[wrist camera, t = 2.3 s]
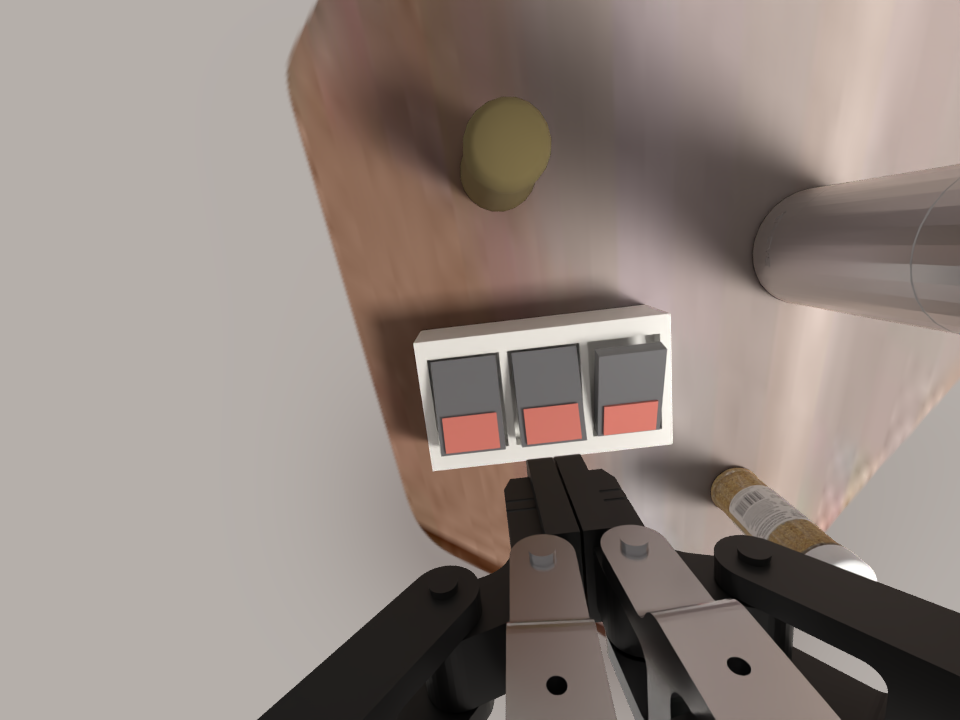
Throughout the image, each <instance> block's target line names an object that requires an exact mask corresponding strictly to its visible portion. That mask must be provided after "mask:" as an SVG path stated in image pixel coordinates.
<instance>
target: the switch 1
mask: <svg viewBox="0 0 960 720" xmlns="http://www.w3.org/2000/svg"><path fill="white" fill-rule="evenodd" d="M431 371H432V380H433V389H434V397H435V406H436V415H437V423H438V432H439V441H440V449H441V457H442V456H451V455H460V454H469V453H478V452H487V451H496V450H505V449H506V445H505V437H504V428H503V419H502V410H501V402H500V393H499V384H498V376H497V367H496V358H495V355H490V356H482V357H473V358H464V359H456V360H447V361H438V362H431Z"/></svg>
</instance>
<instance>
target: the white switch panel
mask: <svg viewBox="0 0 960 720" xmlns="http://www.w3.org/2000/svg"><path fill="white" fill-rule="evenodd" d="M653 342H662V344H663V345H664V346H665V347H666V348H667V358H666V369H665V380H664V391H663V402H662V412H661V423H660V430H652V431H643V432H634V433H625V434H616V435H607V436H597V433H596V431H595V429H594V364H595V349H601V348H610V347H618V346H627V345H636V344H644V343H653ZM413 345H414V351H415V358H416V364H417V371H418V378H419V384H420V391H421V397H422V404H423V410H424V417H425V423H426V430H427V436H428V443H429V449H430V456H431V462H432V469H433V471H438V470H447V469H456V468H465V467H474V466H483V465H492V464H501V463H510V462H519V461H526V460H528V459H537V458H546V457H552V458H554V456H563V455H572V454H580V455H581V454H590V453H599V452H608V451H617V450H626V449H635V448H644V447H652V446H661V445H670V444H673V433H672V368H671V313H668V312H665V311H662V310H659V309H656V308H653V307H651V306H648V305H637V306H629V307H620V308H612V309H603V310H594V311H586V312H577V313H569V314H560V315H551V316H543V317H534V318H526V319H517V320H508V321H500V322H491V323H483V324H474V325H466V326H457V327H448V328H440V329H431V330H423V331H420V333H419V335H418V336H417V338H416V340H415V341H414V343H413ZM569 346H576V348H577V356H578V365H579V374H580V382H581V391H582V400H583V408H584V417H585V426H586V434H587V440H585V441H576V442H567V443H558V444H550V445H541V446H532V447H523V448H522V446H521V440H520V431H519V423H518V414H517V405H516V397H515V388H514V379H513V371H512V362H511V353H517V352H526V351H534V350H543V349H552V348H560V347H569ZM490 355H495V358H496V367H497V376H498V384H499V393H500V402H501V410H502V419H503V428H504V437H505V445H506V449H505V450H496V451H487V452H478V453H469V454H460V455H451V456H442V457H441V449H440V441H439V432H438V423H437V415H436V406H435V397H434V389H433V380H432V371H431V362H438V361H447V360H456V359H464V358H473V357H482V356H490Z"/></svg>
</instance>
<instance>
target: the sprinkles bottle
mask: <svg viewBox="0 0 960 720" xmlns="http://www.w3.org/2000/svg"><path fill="white" fill-rule="evenodd" d="M711 498H712V500H713V502H714V503H715V505H716V506H717V507H719V508H720V509H721V510H723V511H724V512H725V513H726V514H727V516H728V517H729V518H730V519H731V520H732V521H733V523H734V524H735V525H736V526H737V527H738V528H739V529H740V531H741V532H742V533H743V534H744V535H748V536H755V537H759V538H763V539H766V540H769V541H771V542H774V543H777V544H779V545H782V546H784V547H787V548H790V549H792V550H795V551H798V552H800V553H803V554H805V555H808V556H811V557H813V558H816V559H819V560H821V561H824V562H826V563H829V564H832V565H834V566H837V567H840V568H842V569H845V570H847V571H850V572H853V573H855V574H858V575H861V576H863V577H866V578H869V579H871V580H874V581H876V582H877V578H876V575H875V573H874V571H873V570H872V569H871V567H870V566H869V565H868V564H866V563H865V562H864V561H863V560H861V558H859V557H858V556H857V555H856V554H855V553H853V552H852V551H851V550H849V549H847V548H846V547H844V546H842V545H840V544H838V543H836V542H835V541H834V540H833V539H832V538H831V537H829V536H828V535H826V534H825V532H823V531H822V530H821V529H819V527H818V526H817V525H816V524H814V523H813V522H812V521H811V520H810V519H808V518H807V517H806V516H805V515H803V514H802V513H801V512H800V511H798V510H797V509H796V508H795V507H793V506H792V505H791V504H790V503H789V502H787V501H786V500H785V499H784V498H782V497H781V496H780V495H779V494H778V493H776V492H775V491H774V490H773V489H771V488H769V487H768V486H767V485H765V484H764V483H763V482H762V481H760V480H759V479H758V478H757V476H756V475H755V474H754V473H753V472H751V471H750V470H748V469H744V468H732V469H728V470H726V471H724V472H723V473H721V474H720V475H719V476H718V477H717V478H716V479H715V481H714V482H713V484H712V487H711Z"/></svg>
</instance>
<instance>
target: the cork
mask: <svg viewBox="0 0 960 720" xmlns="http://www.w3.org/2000/svg"><path fill="white" fill-rule="evenodd" d="M550 155H551V136H550V132H549V128H548V124H547V122H546V121H545V119H544V118H543V116H542V114H541V113H540V111H539V110H538V109H536V108H535V107H534V106H533V105H532V104H531V103H529V102H527V101H525V100H522V99H520V98H517V97H500V98H497V99H494V100H491V101H488V102H487V103H485V104H484V105H483V106H482V107H480V108H479V109H478V110H476V111H475V113H474V114H473V116H472V117H471V119H470V120H469V122H468V123H467V126H466V130H465V133H464V136H463V157H462V161H461V164H460V178H461V181H462V185H463V188H464V190H465V192H466V193H467V195H468V196H469V198H470V199H471V200H472V201H473V202H474V203H476V204H477V205H478V206H480V207H481V208H484V209H487V210H490V211H507V210H510V209H513V208H515V207H517V206H518V205H519V204H521V203H522V202H523V201H525V200H526V198H527V197H528V195H529V194H530V193H531V191H532V189H533V186H534V184H535V182H536V181H537V180H538V178H539V177H540V176H541V174H542V173H543V172H544V170H545V169H546V166H547V163H548V161H549V158H550Z"/></svg>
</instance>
